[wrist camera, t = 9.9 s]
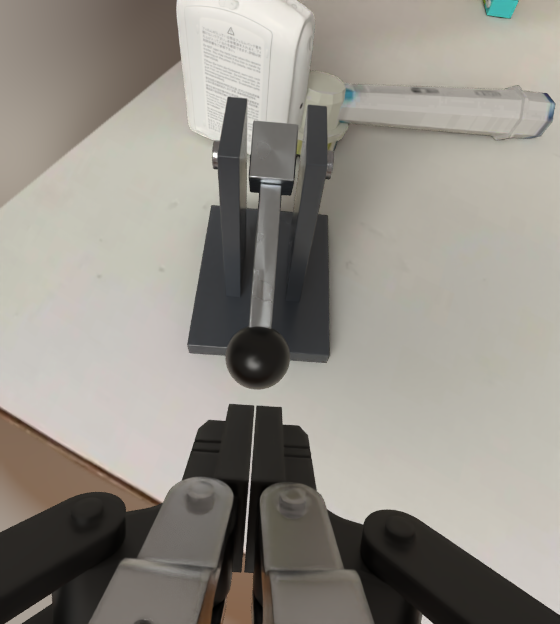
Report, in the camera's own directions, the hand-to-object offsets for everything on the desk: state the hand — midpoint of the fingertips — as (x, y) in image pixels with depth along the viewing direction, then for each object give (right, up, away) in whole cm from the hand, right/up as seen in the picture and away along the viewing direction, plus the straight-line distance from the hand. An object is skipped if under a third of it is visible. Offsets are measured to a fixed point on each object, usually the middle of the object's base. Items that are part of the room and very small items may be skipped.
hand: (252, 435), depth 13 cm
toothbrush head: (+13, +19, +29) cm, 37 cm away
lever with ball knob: (0, +6, +11) cm, 13 cm away
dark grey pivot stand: (0, +6, +19) cm, 20 cm away
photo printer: (-2, +19, +27) cm, 33 cm away
